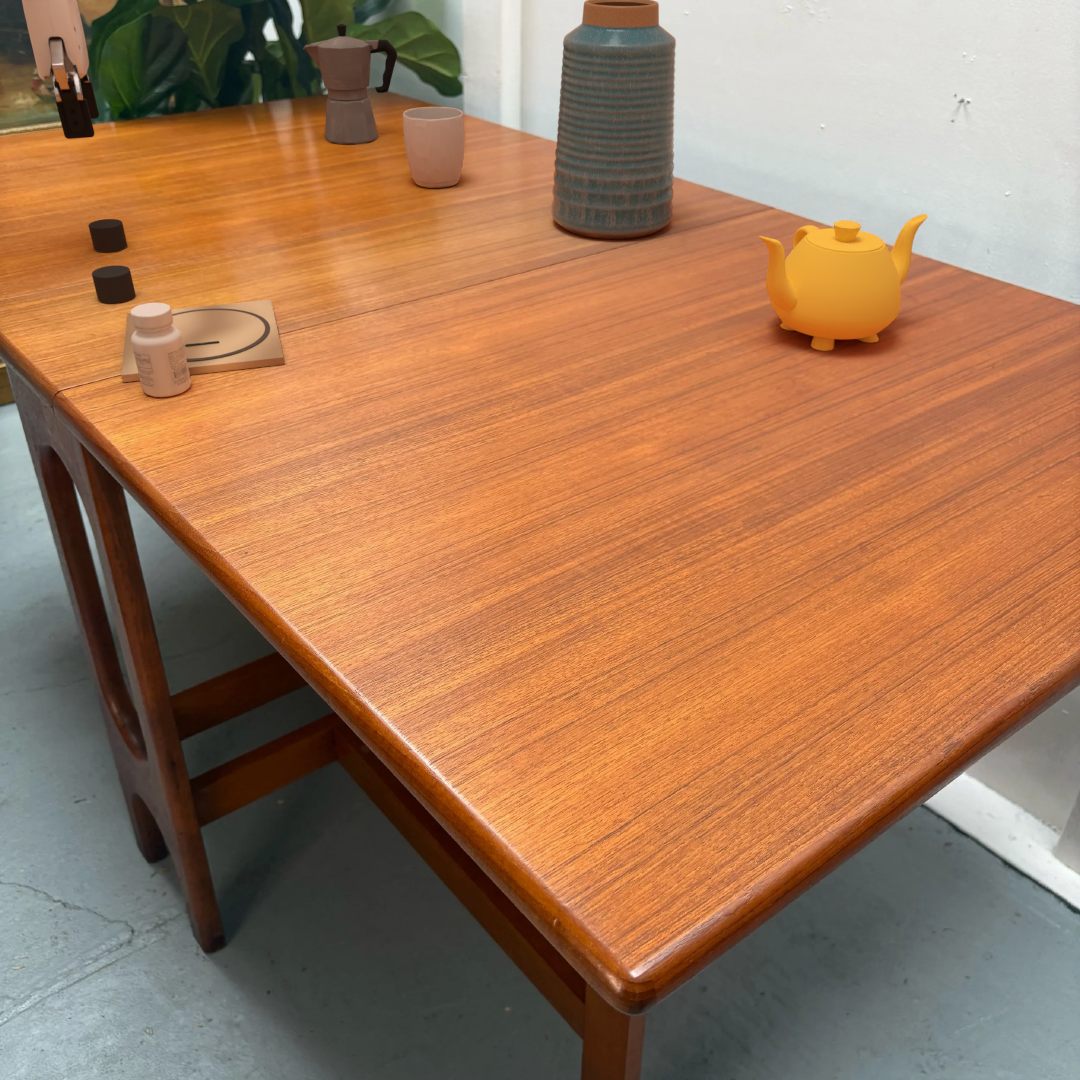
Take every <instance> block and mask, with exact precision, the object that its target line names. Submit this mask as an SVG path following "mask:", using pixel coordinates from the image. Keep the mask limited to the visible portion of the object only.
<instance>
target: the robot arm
mask: <svg viewBox="0 0 1080 1080" xmlns="http://www.w3.org/2000/svg"><path fill="white" fill-rule="evenodd" d="M21 3H22V8H23V13H24V17H25V21H26V22H25V23H26V26H27V30H28V31H27V32H28V34H29V38H30V39H29V40H30V43H31V47H32V51H33V56H34V60H35V66H36V69H37V73H38V77H39V78H40V79H41V80H42V81H48V80H49V78H50V76H51V79H52V84H53V85H52V86H53V91H54V96H55V105H56V108H57V112H58V113H57V114H58V117H59V120H60V124H61V127H62V131H63V136H64V137H65V139H68V140H72V139H87V138H88V139H89V138H94V136H95V129H94V125H93V121H92V119H94V120H95V119H99V116H100V113H99V108H98V104H97V100H96V96H95V91H94V87H93V84H92V82H91V81H90V77H89V73H88V70H89V67H90V59H89V52H88V47H87V42H86V37H85V36H86V35H85V30H84V26H83V22H82V17H81V12H80V8H79V5H78V0H21Z"/></svg>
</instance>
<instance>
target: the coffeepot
mask: <svg viewBox="0 0 1080 1080" xmlns="http://www.w3.org/2000/svg"><path fill="white" fill-rule="evenodd" d="M336 30H337V34H338V36H335V37H332V38H329V39H325V40H321V41H316V42H312V43H309V44H305V45H304V46H303V51H306V52H307V53H308V55H309V56H310V57H311V59H312V60H313V62H314V64H315V65H316V67H317V68H318V69H319V71H320V74H321V78H322V82H323V86H324V87H325V88H326V89H327V99H326V104H325V105H326V107H325V126H324V128H325V129H324V138H325V140H326V141H327V142H329V143H332V144H336V145H361V144H362V145H363V144H368V143H371V142H375V141H376V140H377V139H378V138H379V132H378V129H377V128H378V127H377V124H376V119H375V115H374V112H373V107H372V103H371V100H370V98H369V97H368V89H367V88H368V87H370V81H371V79H370V77H371V59H372V54H378V53H383V52H385V53H386V58H385V63H384V71H383V73H382V85H380V86H375V87H374V88H375V91H376V93H377V94H384V93H388V91H389V89H390V85H391V83H392V78H393V73H394V70H395V66H396V61H397V58H398V52H397V49H396V48H395V46H394V45H393V44H392V43H391V42H390V41H389V40H388V39H368V40H362V39H360V38H359V39H358V38H355V37H351V36H347V24H343V23H339V24H337V25H336Z"/></svg>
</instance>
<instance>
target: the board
mask: <svg viewBox="0 0 1080 1080" xmlns="http://www.w3.org/2000/svg"><path fill="white" fill-rule="evenodd" d="M171 312H172V316H173V324H172V325H171V326H174V327H176V328H177V329H178V330H179V331H180V332H181V335H182V340H183V345H184V350H185V354H186V359H187V364H188V369H189V374H190V376H194V375H203V374H211V373H220V372H230V371H237V370H247V369H256V368H264V367H273V366H282V365H285V364H286V363H285V357H284V353H283V347H282V344H281V339H280V334H279V329H278V325H277V320H276V316H275V312H274V306H273V302H272V299H263V300H262V299H261V300H252V301H241V302H232V303H221V304H212V305H201V306H191V307H190V306H189V307H182V308H180V307H179V308H171ZM135 331H136V329H135V328H134V327H133V323H132V319H131V313H130V312H129V313H128V312H127V313H126V321H125V332H124V343H123V353H122V361H121V371H120V377H121V380H122V383H133V382H140V377H139V373H138V369H137V365H136V360H135V356H134V352H133V347H132V343H131V337H132V334H133V333H134V332H135Z"/></svg>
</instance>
